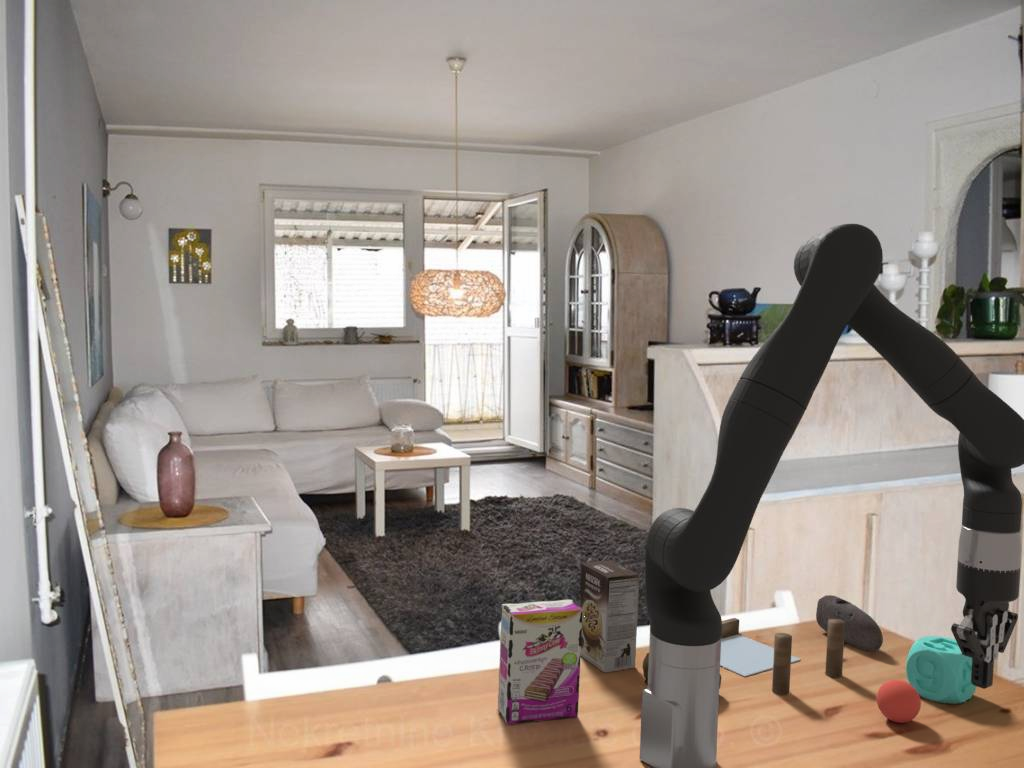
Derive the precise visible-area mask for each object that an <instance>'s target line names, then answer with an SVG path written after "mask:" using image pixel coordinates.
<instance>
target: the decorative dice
mask: <svg viewBox="0 0 1024 768" xmlns="http://www.w3.org/2000/svg"><path fill="white" fill-rule="evenodd" d="M971 672H972V658H971V657H968V656H965V655H963V654H962V652H961V650H960V648H959V646H958V644H957V642H956V639H955V638H950V637H944V636H938V635H937V636H936V635H934V636H933V635H932V636H931V635H928V636H927V635H926V636H922V637H920V638H918V639H916V641H915V642H914V643H913V644H912V646H911V647H910V650H909V652H908V655H907V659H906V664H905V676H906V678H907V681H908V683H909V684H911V685H912V686H913V687H914V688H915V689H916V690H917V692H918V694H919V696H920V697H922V698H924V699H927V700H929V701H932V702H935V701H936V703H940V702H941V703H942V704H946V703H960V704H963V703H962V702H964V703H966V702H967V701H966V700H968V699H969V700H971V698H972V697H973V696H974V694H975V692H976V689H977V686H975V685H973V684H972V683H971ZM969 700H968V701H969ZM965 701H966V702H965Z"/></svg>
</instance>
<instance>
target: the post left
mask: <svg viewBox="0 0 1024 768" xmlns="http://www.w3.org/2000/svg"><path fill="white" fill-rule="evenodd" d="M773 645H774V646H773V648H774V662H773V669H772V683H771V684H772V686H771V691H772V693H773V694H775V695H779V696H787V695H790V686H791V684H790V683H791V665H792V663H791V655H792V648H793V647H792V645H793V636H792V635H791V634H788V633H785V632H777V633H774V644H773Z"/></svg>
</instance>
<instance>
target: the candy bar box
mask: <svg viewBox="0 0 1024 768" xmlns="http://www.w3.org/2000/svg"><path fill="white" fill-rule="evenodd" d="M500 610H501V611H500V613H501V614H500V619H501V620H500V636H499V638H500V641H499V642H500V643H499V644H500V645H499V666H498V668H499V669H498V670H499V671H498V695H497V696H498V697H497V699H498V700H497V712H498V713H499V715H500V716H501V717H502V719H503V721H504V723H506V725H515V724H516V725H517V724H524V723H533V722H541V721H542V722H543V721H550V720H558V719H566V718H576V717H577V718H578V715H579V701H580V700H579V699H580V675H581V633H582V611H583V610H582V609H581V608H580V605H578V604H577V603H575V602H574V600H572V599H560V600H559V599H558V600H557V599H556V600H544V601H531V602H530V601H527V602H512V603H502V604H501V609H500Z"/></svg>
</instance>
